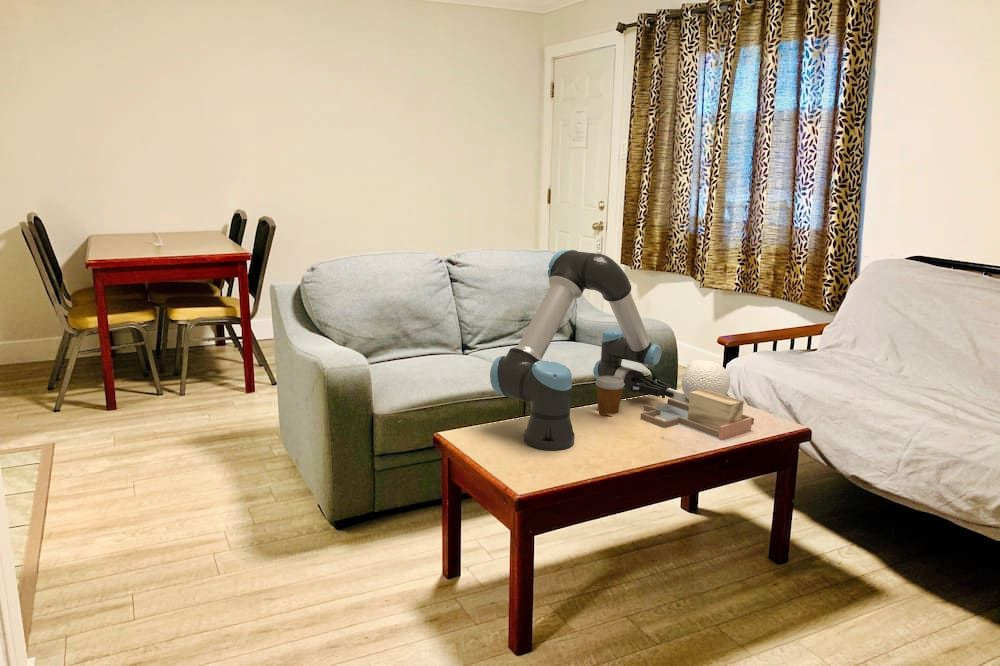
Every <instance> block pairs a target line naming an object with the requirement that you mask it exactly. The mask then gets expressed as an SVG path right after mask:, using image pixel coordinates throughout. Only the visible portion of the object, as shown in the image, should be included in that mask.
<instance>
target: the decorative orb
mask: <svg viewBox="0 0 1000 666" xmlns="http://www.w3.org/2000/svg"><path fill="white" fill-rule="evenodd" d="M730 386H731V378H730V374H729V373H728V371H727V369H726V368H725V367H724V366H722V364H720V363H718V362H715V361H713V360H706V359H694V360H693V359H692V361H690V362H688V364H687V365H686V368H685V370H684V372H683V375H682V378H681V388H682V389H681V390H682V392H683V393H685V398H686V399H688V400H689V399H690V392H693V391H697V390H701V389H706V390H709V391H713V392H716V393H719V394H722V395H726V396H727V394H728V392H729V390H730Z"/></svg>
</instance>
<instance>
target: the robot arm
mask: <svg viewBox="0 0 1000 666" xmlns="http://www.w3.org/2000/svg"><path fill="white" fill-rule="evenodd" d="M548 263H549V264H548V268H549V269H548V270H547V276H548V284H549V286H550V287H549V288H548V290H547V291H546V294H545V295H544V297H543V299H542V301H541V302H540V305H539V307H538V308H537V310H536V311H535V314H534V315H533V317H532V318H531V320H530V322H529V324H528V326H527V328H526V329H525V331H524V333H523V334H522V337H521V338H520V340H519V342H518V344H517V346H513V347H510V349H509V350H508V352H507V353H506V355H500V356H498V357H497V358H495V359H494V361H493V362H492V365H491V368H490V371H489V378H490V379H489V381H490V384H491V387H492V389H493V390H494V391H495V392H496V393H497V394H499V395H502V396H503V397H506V398H511V399H514V400H515V399H516V400H518V401H522V402H524V403H529V404H530V416H529V419H528V422H527V425H526V428H524V432H523V442H524V443H525V444H526V445H528V446H529V447H532V448H534V449H538V450H545V451H558V450H565V449H568V448H571V447H572V446H574V445H575V439H576V437H575V436H576V435H575V432H574V429H573V425H572V424H573V423H572V420H571V403H572V401H571V400H572V388H573V381H572V378H573V377H572V372H571V370H570V368H568V367H567V366H566V365H565V364H562V363H560V362H556V361H553V360H552V361H549V360H542V359H543V358H544V355H545V353H546V352H547V349H548V348H549V346H550V345H551V342H552V340H553V338H554V337H555V335H556V333H557V331H558V330H559V328H560V326H561V324H562V322H563V320H564V319H565V317H566V315H567V313H568V311H569V309H570V307H571V305H572V304H573V302H574V300H576V299H579V298H581V297H582V294H583V293H584V291H585V290H589V291H595V292H598V293H599V294H601V295H602V298H603V299H604V300H605V301H607V302H608V304H609V306H610V307H611V310H612V313H613V314H614V317H615V320H616V322H617V324H618V326H619V328H620V329H613V328H611V329H610V328H609V329H605V330H604V331H603V332H602V339H601V348H600V349H601V350H600V351H601V353H600V359H599V360H597V361H596V362H595V365H594V367H593V369H592V373H593V375H594V377H595V379H597V378H598V377H601V376H615V377H619V378H622V379H623V380H624V383H625V385H624V387H623V390H627V391H630V392H632V393H642V394H646V395H650V396H653V397H657V398H660V397H661V398H662V399H666V397H667V398H668V399H673V400H676V401H678V402H681V403H683V402H685V399H686V396H685V393H684V392H683V391H680V390H677V389H674V386H672V385H671V384H669V383H667V382H665V381H663V380H661V379H660V378H656V379H655V380H653V379H651V378H649V377H646V376H645V375H644V372H643V371H640V370H637V369H634V368H631V367H628V366H623V365H622V362H623V360H625V361H630V362H633V363H639V364H642V365H647V366H656V365H658V363H659V362H660V360H661V357H662V347H661V346H660V345H659V344H656V343H652V341H651V340H650V337H649V335H648V333H647V331H646V327H645V325H644V323H643V321H642V317H641V315H640V312H639V310H638V308H637V305H636V303H635V301H634V298H633V296H632V293H631V292H632V285H631V281H630V280H629V277H628V276H627V274H626V272H625V271H624V270H623V269H622V267H621V266H620V264H618V263H617V262H616V261H615V260H614V259H612V258H611V257H609V256H607V255H605V254H603V253H594V252H587V251H586V252H585V251H578V250H576V249H570V250H569V249H563V250H560V251H557V252H556V253H555V254H554V255H553V256H552V257H551V259H550V261H549V262H548ZM623 390H622V391H623Z"/></svg>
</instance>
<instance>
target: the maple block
mask: <svg viewBox="0 0 1000 666" xmlns="http://www.w3.org/2000/svg"><path fill="white" fill-rule="evenodd" d="M744 403H745V400H741V399H739V398H735V397H731V396H728V395H727V394H726V395H722V394H719V393H716V392H713V391H709V390H706V389H701V390H697V391H693V392H690V399H688V405H689V410H688V420H691V421H693V422H696V423H699V424H702V425H705V426H707V427H710V428H713V429H716V430H719V427H720V426H723V425H726V424H729V423H733V422H736V421H739V420H742V414H743V411H744Z"/></svg>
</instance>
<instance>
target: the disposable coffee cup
mask: <svg viewBox="0 0 1000 666" xmlns="http://www.w3.org/2000/svg"><path fill="white" fill-rule="evenodd" d="M595 385H596V393H597V394H596V396H597V407H598V408H597V409H598V414H599V416H602V417H605V418H613V417H614V416H612V415H614V414H618V413H619V410H620V406H621V399H622V396H623V395H622V394H623V387H624V385H625V383H624V380H623V379H622V378H619V377H615V376H601V377H598V378H596V381H595Z"/></svg>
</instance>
